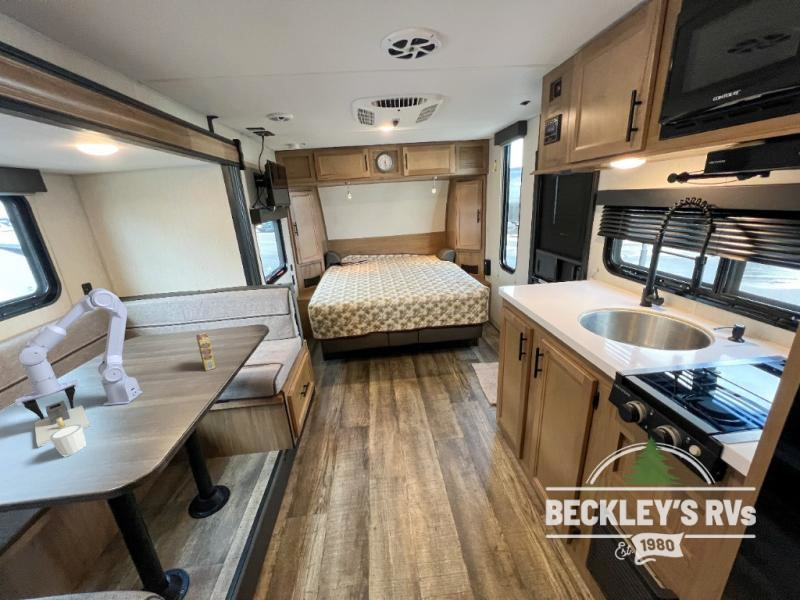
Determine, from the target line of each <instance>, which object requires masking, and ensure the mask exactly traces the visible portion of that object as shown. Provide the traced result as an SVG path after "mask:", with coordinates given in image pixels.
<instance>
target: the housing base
mask: <svg viewBox="0 0 800 600" xmlns="http://www.w3.org/2000/svg"><path fill="white" fill-rule="evenodd" d="M67 410H68V412H69V416H70V418H69V419H67V420H64V421H63V419H62V417H59V418H57V419H56V421H57V423H56V424H54V425H52V424H51V422H50V419H49V417H48V416H47V417H46V418H44V419H42V420H41V419H40V420H38V421H36V422H34V429H35V430H34V431H35V438H36V439H35V440H36V445H37V448H38V447H39V446H41V445H43V444H46V443H48V442H51V439H50V436H51V435H52V434H53V433H55V432H57V431H58V430H60V429H62V428H65V427H67V426H71V425H75V424H81V425H82V428H86V427H88V426H90V427H91V425H90V421H89V418H88V417H87V414H86V411H85V410H84V405H79V406H76V407H74V408H72V409H71V408H70V409H67ZM86 429H87V428H86Z"/></svg>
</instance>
